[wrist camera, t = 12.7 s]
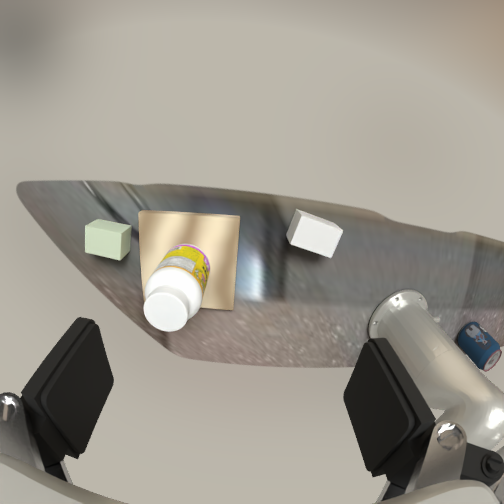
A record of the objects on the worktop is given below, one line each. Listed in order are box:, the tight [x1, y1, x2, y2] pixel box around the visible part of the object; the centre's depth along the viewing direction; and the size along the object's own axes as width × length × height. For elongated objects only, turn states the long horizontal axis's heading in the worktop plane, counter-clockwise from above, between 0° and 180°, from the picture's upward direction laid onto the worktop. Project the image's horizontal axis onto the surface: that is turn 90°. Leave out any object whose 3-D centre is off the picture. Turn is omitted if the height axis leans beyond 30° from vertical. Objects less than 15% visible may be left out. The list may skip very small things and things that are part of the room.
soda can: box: [458, 322, 502, 372], centre depth 42 cm, size 7×7×12 cm
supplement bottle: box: [144, 244, 210, 332], centre depth 32 cm, size 7×7×13 cm
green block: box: [85, 219, 132, 260], centre depth 36 cm, size 6×4×4 cm, turn 77°
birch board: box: [139, 210, 240, 310], centre depth 39 cm, size 14×14×2 cm
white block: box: [286, 209, 343, 258], centre depth 37 cm, size 6×4×4 cm, turn 71°
